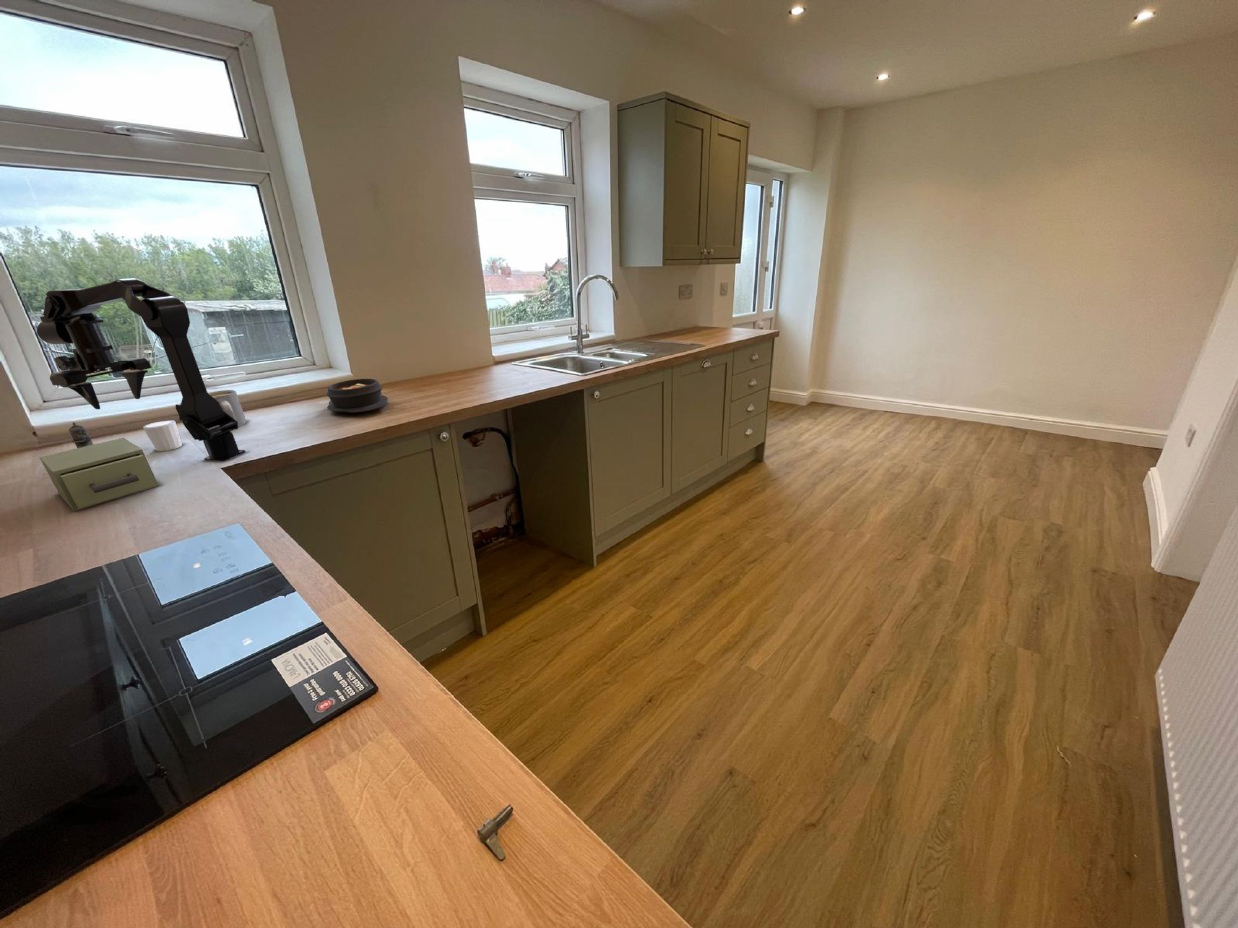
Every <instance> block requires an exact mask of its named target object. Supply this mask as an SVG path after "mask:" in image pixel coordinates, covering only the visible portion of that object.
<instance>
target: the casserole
mask: <svg viewBox="0 0 1238 928" xmlns="http://www.w3.org/2000/svg"><path fill="white" fill-rule="evenodd" d="M382 389H383V385H382V384H381V383H380V382H379V381H378V380H377V379H375V378H357V379H349V380H343V381H340V382H337V383H334V384H331V385H329V386H328V387H327V392H326V394H325V395H326V396H327V398H329V401H328V404H327V407H326V409H327V410H328V411H331V412H336V413H339V412H340V413H343V414H344V413H345V414H358V413H364V412H368V411H369V412H371V411H374V410H378V409H382V408H384V407H387V406H388V405H389V402H388V401H389V398H388V396H386V395H383V394H382Z"/></svg>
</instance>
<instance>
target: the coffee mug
mask: <svg viewBox="0 0 1238 928" xmlns="http://www.w3.org/2000/svg"><path fill="white" fill-rule="evenodd" d="M208 394H209V395H211V396H212V397H213V398H215V399H216V400H217V401H218V402H219V404H220V406H221V407H222V409H223V411H224V412H226V413H227V414H228V415H230V416H231V417H232V418H233V419H235V420H236V421H237V422H238V427H240V426H243V425H245V424H246V423H247V419H246V415H245V413H244V410H243V407H242V405H241V402H240V398H239V396H238V394H237V391H236V390H234V389H223V390H221V389H220V390H214V391H209V392H208ZM217 427H219V425H218V426H215V427H213V428H210V429H208V430H211V429H214V428H217Z"/></svg>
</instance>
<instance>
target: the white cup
mask: <svg viewBox="0 0 1238 928" xmlns="http://www.w3.org/2000/svg"><path fill="white" fill-rule="evenodd" d="M142 429H143V430H144V432H145V434H146V436H147V437H148V439H149V441H150V442H151V444H152V446H153V447H154V449H155V451H156V452H167V451H171V450H175V449H178V448H180V447H182V446H183V444H182V440H181V437H180V433H179V429H178V426H177V423H176V421H175V420H173V419H169V420H168V419H167V420H159V421H155V422H151V423H148V424H145V425H143V426H142Z"/></svg>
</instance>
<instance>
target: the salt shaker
mask: <svg viewBox="0 0 1238 928" xmlns="http://www.w3.org/2000/svg"><path fill="white" fill-rule="evenodd" d="M68 432H69V433H70V435H71V437H72V443H73V444H74V445H75V446H76V449H77V448H81V447H85V446H89V445H94V444H95V443H94V442H93V440H92V439H93V437H92V436H90V435H89V433H88V431H87V429H86V428H85V426H83V425H82V424H81V425H79V424H77V423H76V422H74V421H73V422H72V426H70V427H69V428H68Z"/></svg>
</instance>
